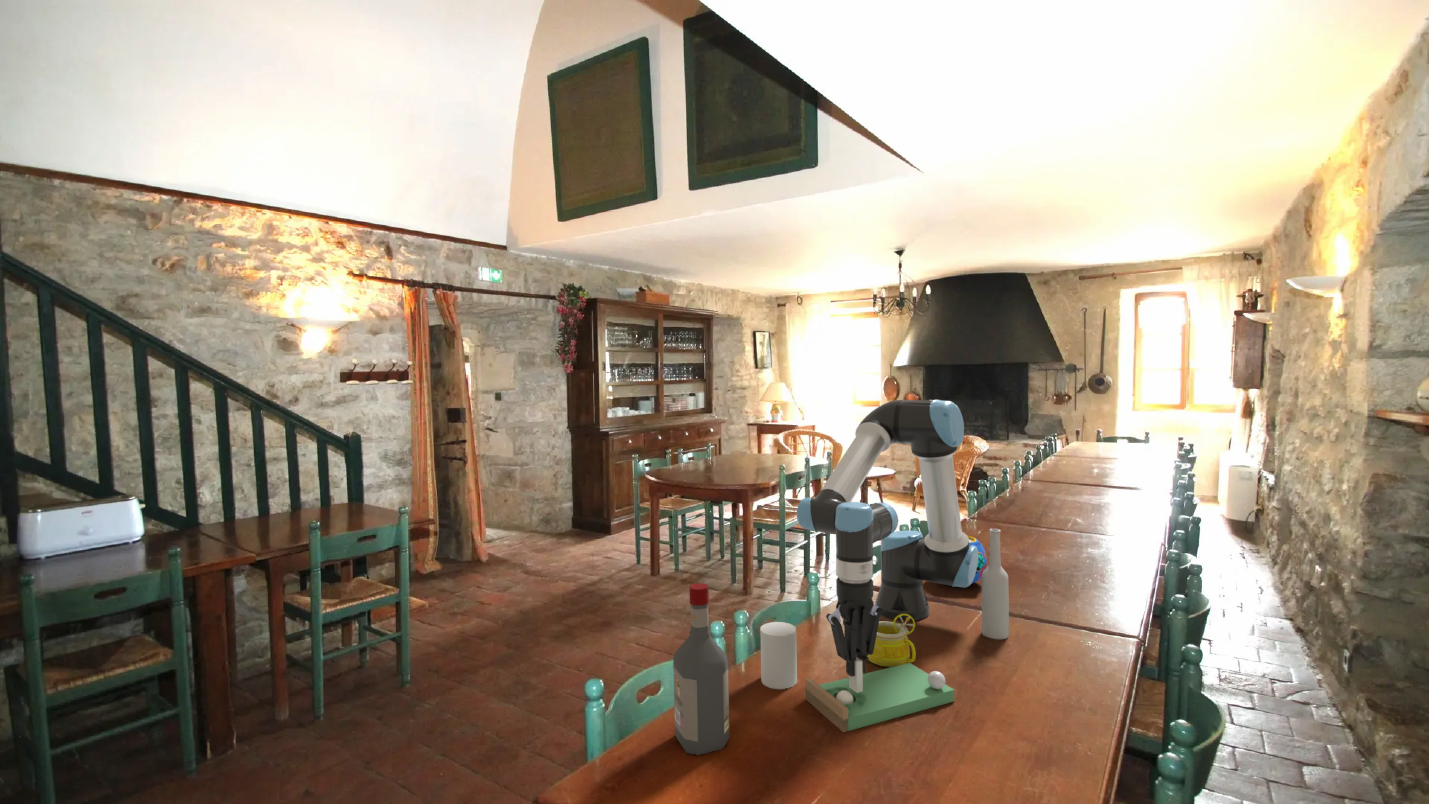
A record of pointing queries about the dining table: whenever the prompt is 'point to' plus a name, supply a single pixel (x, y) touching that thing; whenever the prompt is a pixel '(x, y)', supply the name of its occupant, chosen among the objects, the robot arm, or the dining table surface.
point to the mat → (877, 697)
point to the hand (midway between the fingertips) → (855, 689)
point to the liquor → (701, 683)
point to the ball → (845, 697)
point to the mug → (893, 644)
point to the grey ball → (936, 680)
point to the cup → (778, 655)
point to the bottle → (995, 593)
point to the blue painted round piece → (981, 558)
